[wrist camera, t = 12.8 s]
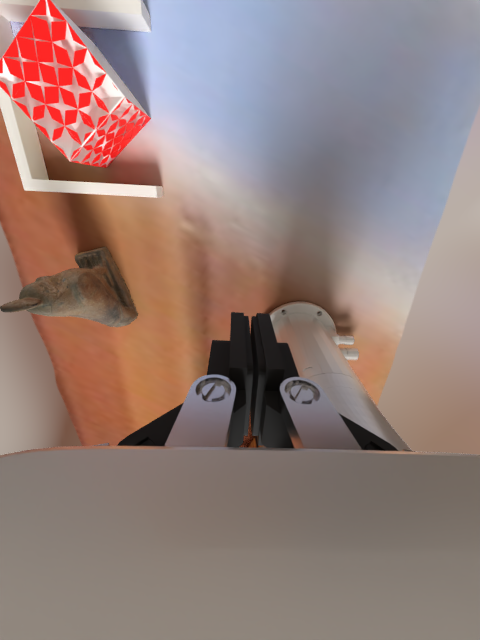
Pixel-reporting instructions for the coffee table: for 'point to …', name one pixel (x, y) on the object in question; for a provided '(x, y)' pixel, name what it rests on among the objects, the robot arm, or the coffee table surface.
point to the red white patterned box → (69, 88)
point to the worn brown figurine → (81, 292)
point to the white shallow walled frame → (16, 5)
